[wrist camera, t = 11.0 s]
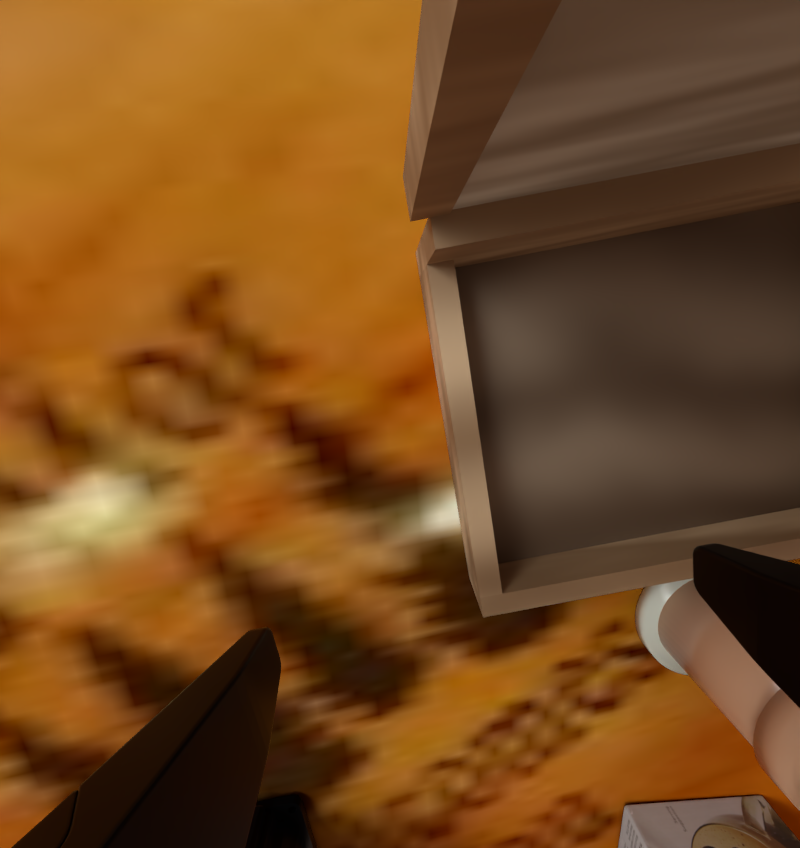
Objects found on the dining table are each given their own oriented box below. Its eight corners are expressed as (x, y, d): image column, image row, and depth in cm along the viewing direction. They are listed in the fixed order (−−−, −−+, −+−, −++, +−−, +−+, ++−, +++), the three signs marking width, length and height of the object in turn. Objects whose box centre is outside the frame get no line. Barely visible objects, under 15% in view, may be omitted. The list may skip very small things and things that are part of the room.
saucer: (761, 651, 22) (775, 662, 21) (638, 674, 22) (647, 686, 21) (763, 539, 21) (778, 547, 20) (631, 564, 21) (641, 573, 20)
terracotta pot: (764, 656, 21) (943, 808, 14) (654, 677, 21) (782, 838, 14) (766, 558, 20) (964, 673, 13) (649, 580, 20) (786, 706, 13)
